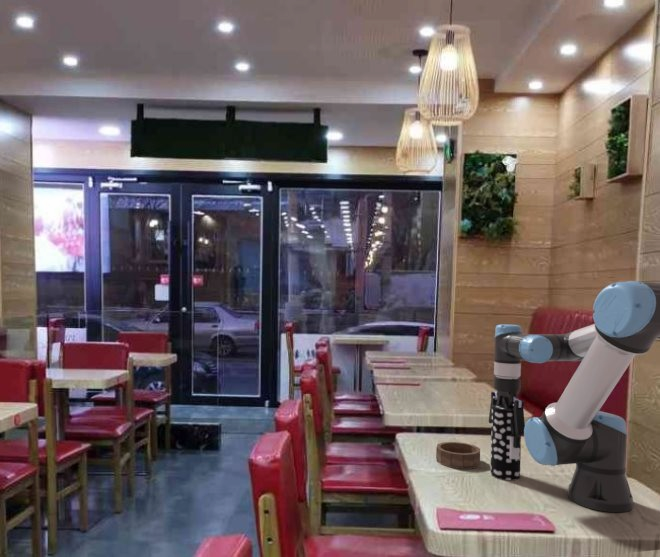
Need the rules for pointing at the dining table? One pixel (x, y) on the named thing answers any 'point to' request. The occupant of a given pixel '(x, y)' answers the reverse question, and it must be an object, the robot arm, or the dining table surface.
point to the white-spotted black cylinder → (503, 445)
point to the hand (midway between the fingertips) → (505, 453)
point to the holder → (458, 455)
